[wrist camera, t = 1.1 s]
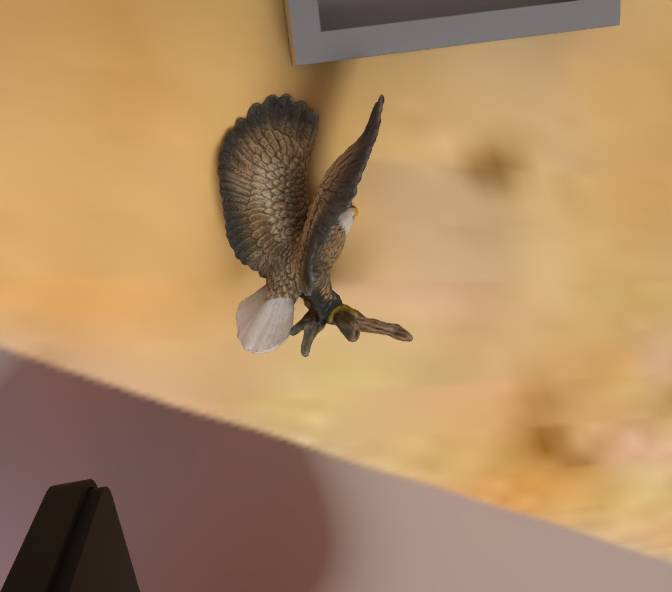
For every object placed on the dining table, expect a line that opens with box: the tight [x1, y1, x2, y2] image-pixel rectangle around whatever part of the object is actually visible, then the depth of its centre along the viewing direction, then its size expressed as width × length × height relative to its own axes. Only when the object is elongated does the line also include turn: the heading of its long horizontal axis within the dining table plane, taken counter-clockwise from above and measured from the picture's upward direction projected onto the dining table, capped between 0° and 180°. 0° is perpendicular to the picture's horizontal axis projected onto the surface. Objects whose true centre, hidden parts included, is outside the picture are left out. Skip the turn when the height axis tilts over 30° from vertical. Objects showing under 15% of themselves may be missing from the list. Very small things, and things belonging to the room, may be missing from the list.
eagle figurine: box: [218, 94, 413, 357], centre depth 24 cm, size 8×7×9 cm
